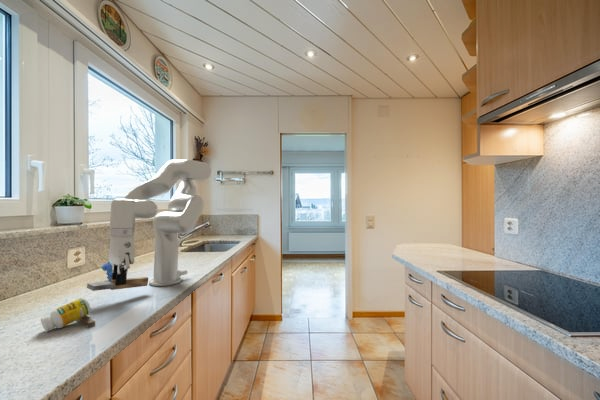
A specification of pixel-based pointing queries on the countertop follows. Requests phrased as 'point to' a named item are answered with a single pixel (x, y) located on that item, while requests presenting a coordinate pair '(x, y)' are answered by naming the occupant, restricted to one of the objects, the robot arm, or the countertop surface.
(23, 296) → the countertop surface
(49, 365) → the countertop surface
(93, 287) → the turner
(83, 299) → the supplement bottle
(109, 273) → the grapes
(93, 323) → the stop strip
